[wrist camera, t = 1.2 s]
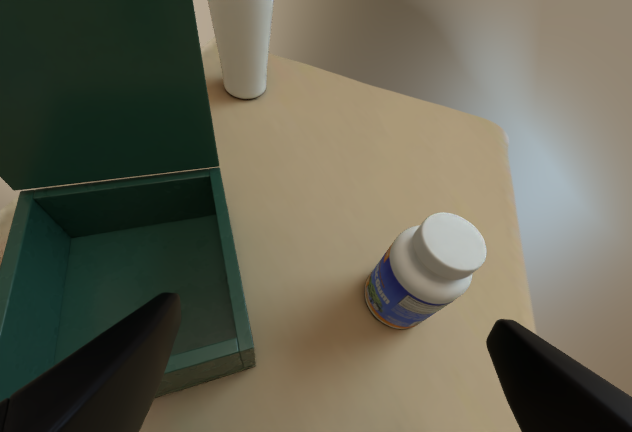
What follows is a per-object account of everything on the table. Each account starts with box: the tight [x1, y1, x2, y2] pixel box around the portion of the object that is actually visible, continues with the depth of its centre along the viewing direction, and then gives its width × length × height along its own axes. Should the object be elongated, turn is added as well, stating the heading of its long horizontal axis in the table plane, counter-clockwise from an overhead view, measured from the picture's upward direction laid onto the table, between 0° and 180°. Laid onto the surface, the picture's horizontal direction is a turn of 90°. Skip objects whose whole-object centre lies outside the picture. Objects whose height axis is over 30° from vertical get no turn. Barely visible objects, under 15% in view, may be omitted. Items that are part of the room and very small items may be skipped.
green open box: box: [0, 167, 256, 402], centre depth 20 cm, size 14×13×6 cm
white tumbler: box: [208, 0, 274, 99], centre depth 33 cm, size 7×7×15 cm
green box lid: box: [0, 0, 219, 190], centre depth 17 cm, size 14×13×4 cm
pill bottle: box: [365, 213, 487, 329], centre depth 22 cm, size 5×5×10 cm
